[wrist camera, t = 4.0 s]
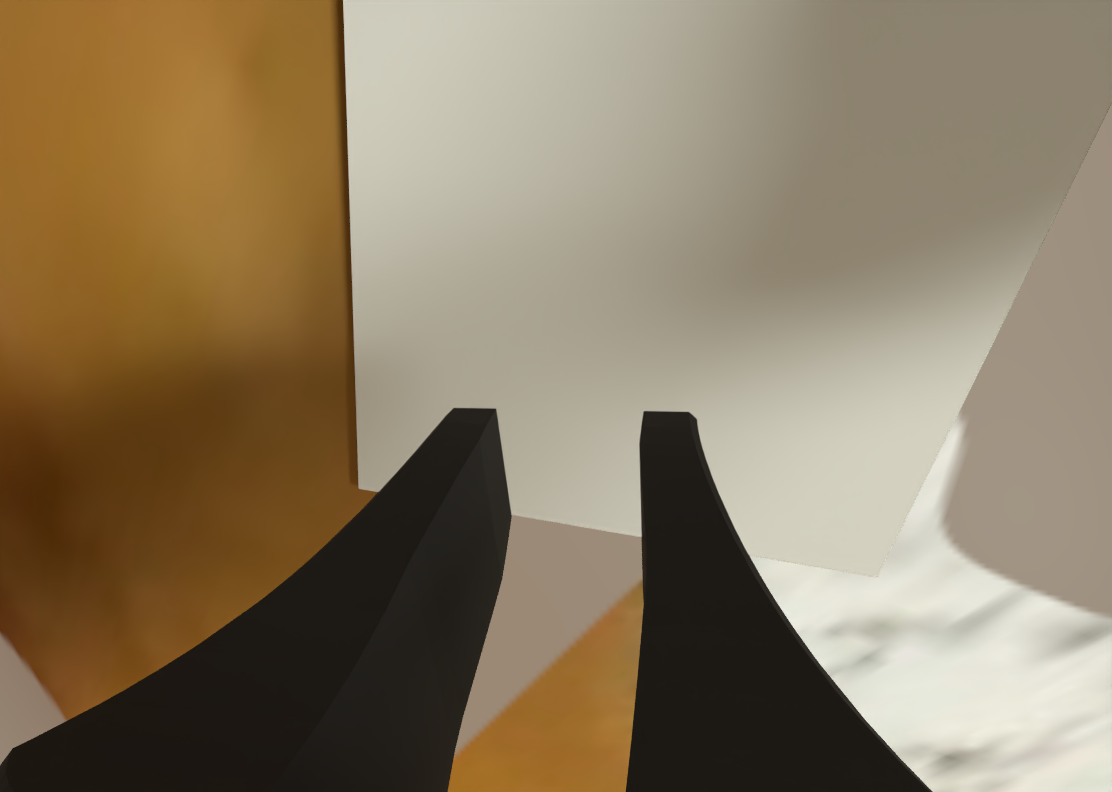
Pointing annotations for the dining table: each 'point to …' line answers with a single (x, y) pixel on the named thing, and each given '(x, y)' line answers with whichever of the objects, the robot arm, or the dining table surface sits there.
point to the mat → (704, 238)
